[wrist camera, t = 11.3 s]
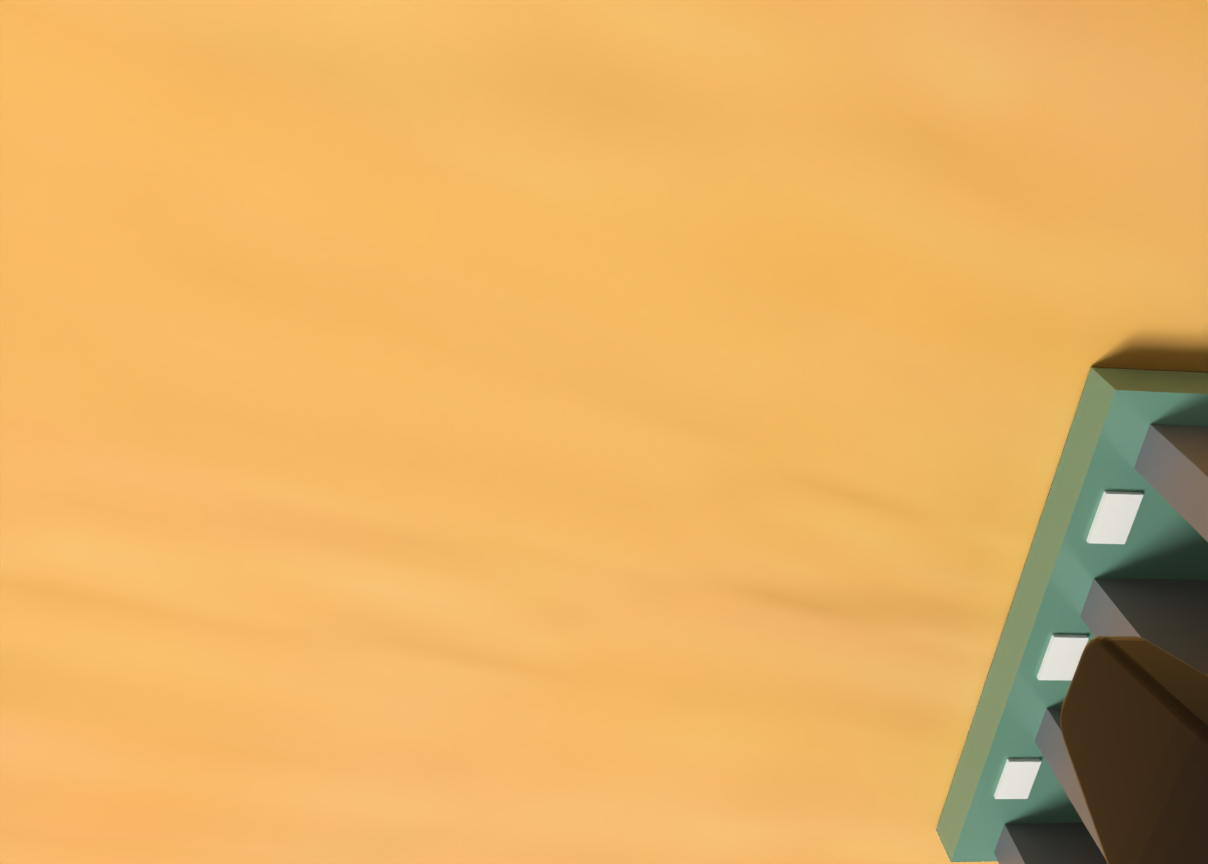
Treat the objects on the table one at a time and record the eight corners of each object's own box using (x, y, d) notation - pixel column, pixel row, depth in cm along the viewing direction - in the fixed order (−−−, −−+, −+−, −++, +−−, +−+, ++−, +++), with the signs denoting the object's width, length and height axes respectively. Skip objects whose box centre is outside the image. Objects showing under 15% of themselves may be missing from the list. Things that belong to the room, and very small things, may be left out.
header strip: (1091, 367, 22) (1221, 487, 18) (1406, 382, 23) (1596, 498, 19) (936, 829, 28) (1009, 992, 25) (1190, 826, 29) (1300, 983, 25)
